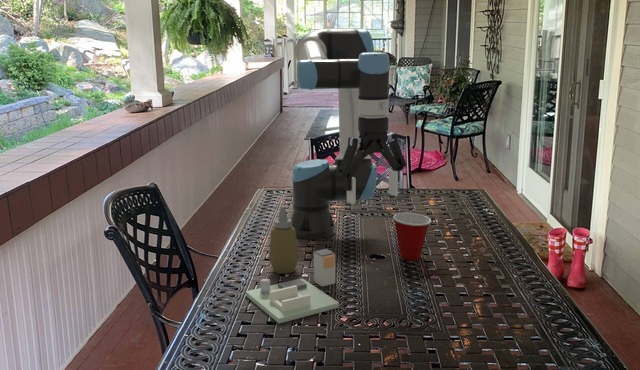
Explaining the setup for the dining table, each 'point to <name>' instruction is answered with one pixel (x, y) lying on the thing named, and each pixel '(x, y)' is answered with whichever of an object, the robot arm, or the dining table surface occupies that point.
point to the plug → (324, 267)
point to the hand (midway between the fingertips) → (372, 198)
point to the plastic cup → (411, 234)
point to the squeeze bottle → (283, 245)
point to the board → (290, 299)
